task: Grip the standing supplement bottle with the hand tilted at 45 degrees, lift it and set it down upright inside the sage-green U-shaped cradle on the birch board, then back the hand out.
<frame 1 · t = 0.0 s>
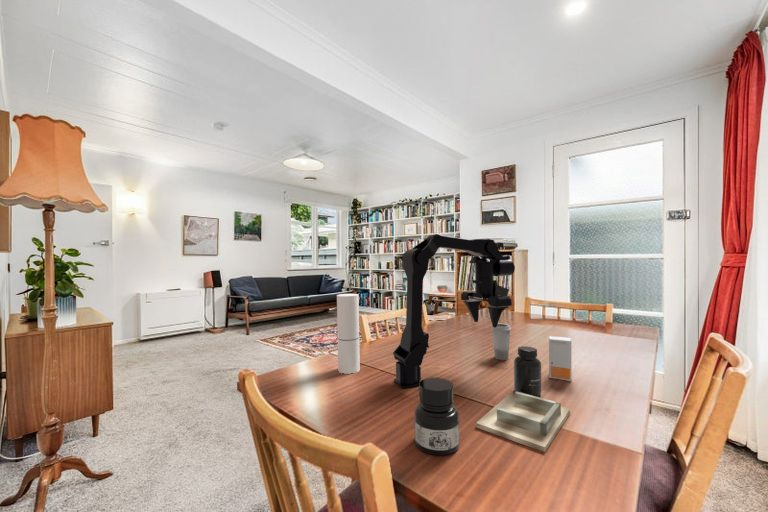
hand: (485, 324, 107), 15 cm above the table, tool pointing down, fingers open, 9 cm apart
cup: (501, 358, 118), on the table
skincare box: (560, 378, 99), on the table
cradle board: (524, 420, 74), on the table
cylindrical container: (349, 370, 108), on the table
supplement bottle: (527, 393, 89), on the table
ink bottle: (437, 444, 66), on the table
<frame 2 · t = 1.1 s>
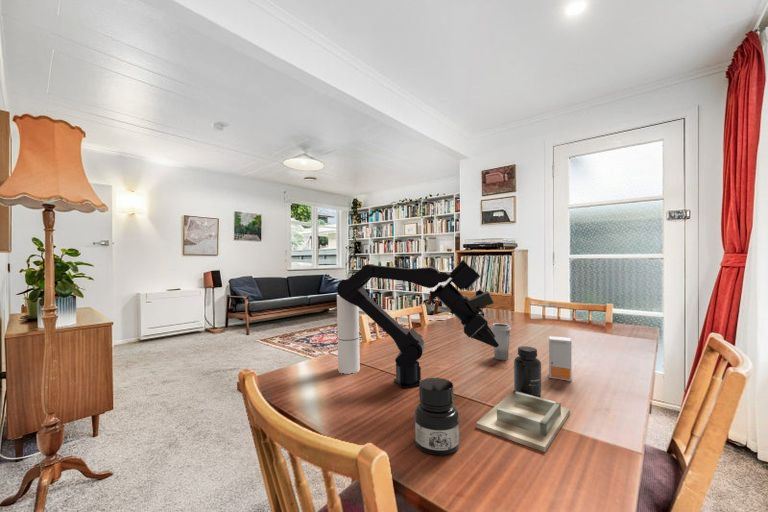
hand: (495, 341, 91), 13 cm above the table, tool tilted 45°, fingers open, 9 cm apart
nothing on the table moved.
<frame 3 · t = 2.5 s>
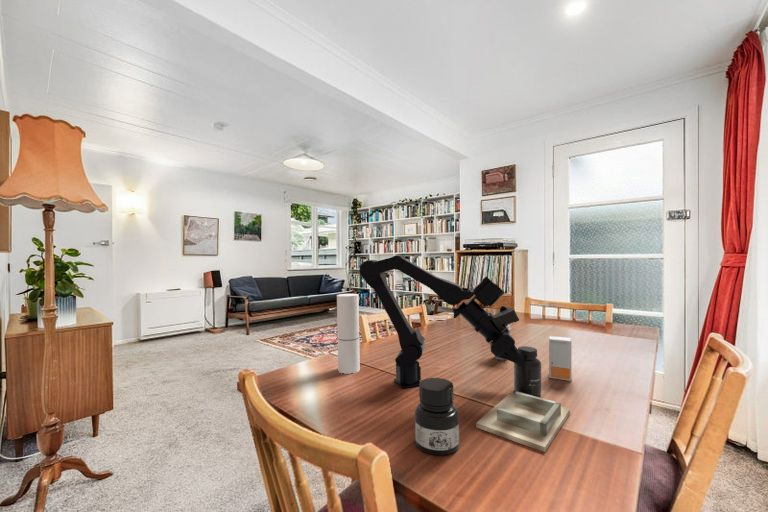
hand: (521, 359, 89), 9 cm above the table, tool tilted 45°, fingers open, 9 cm apart
nothing on the table moved.
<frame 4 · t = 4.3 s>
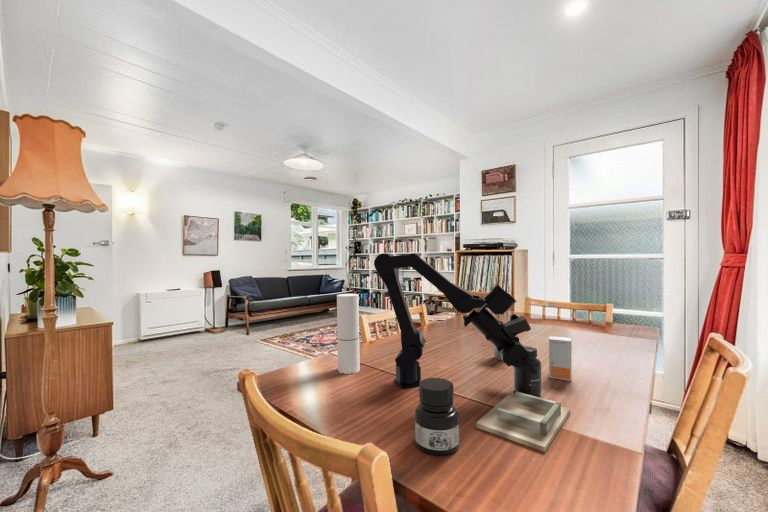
hand: (532, 368, 89), 7 cm above the table, tool tilted 45°, fingers closed on supplement bottle, 7 cm apart
supplement bottle: (527, 393, 89), on the table, touching gripper
everything else where it was.
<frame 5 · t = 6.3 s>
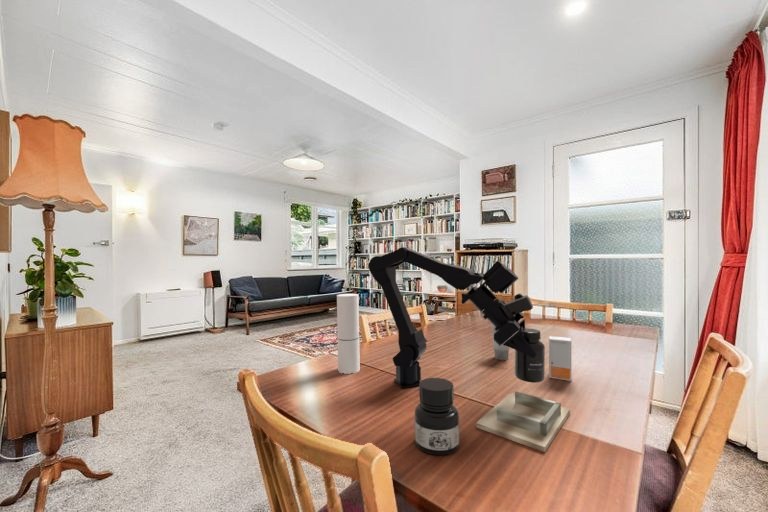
hand: (535, 352, 81), 13 cm above the table, tool tilted 45°, fingers closed on supplement bottle, 7 cm apart
supplement bottle: (529, 378, 82), point 6 cm above the table, touching gripper
everything else where it was.
when the fingers open (9 cm above the table, at t = 8.4 s): supplement bottle drops 1 cm, resting on cradle board.
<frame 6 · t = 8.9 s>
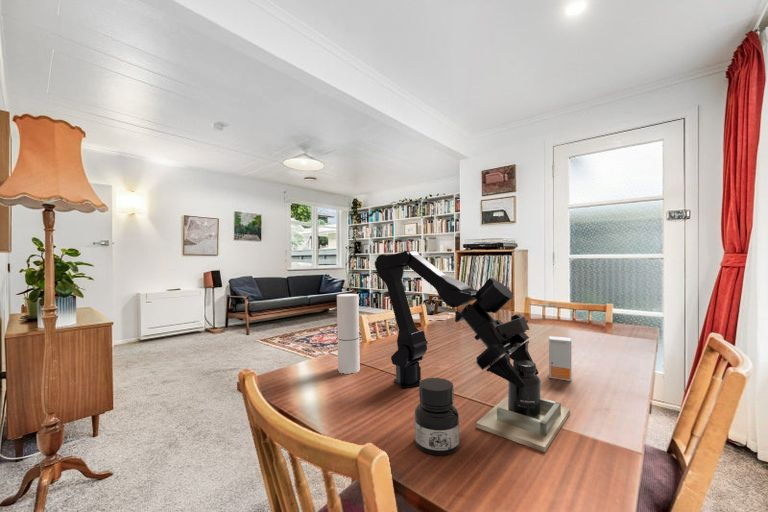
hand: (530, 380, 73), 9 cm above the table, tool tilted 45°, fingers open, 9 cm apart
supplement bottle: (524, 415, 75), point 1 cm above the table, touching cradle board
everything else where it was.
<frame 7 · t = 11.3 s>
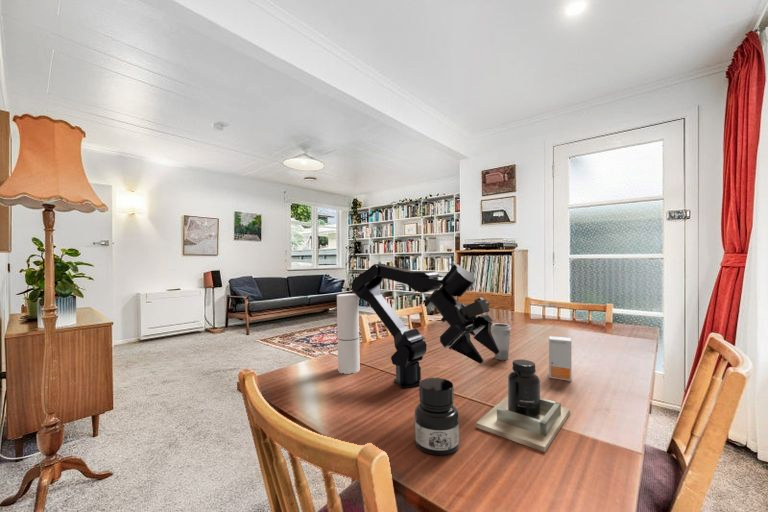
hand: (490, 357, 79), 13 cm above the table, tool tilted 45°, fingers open, 9 cm apart
nothing on the table moved.
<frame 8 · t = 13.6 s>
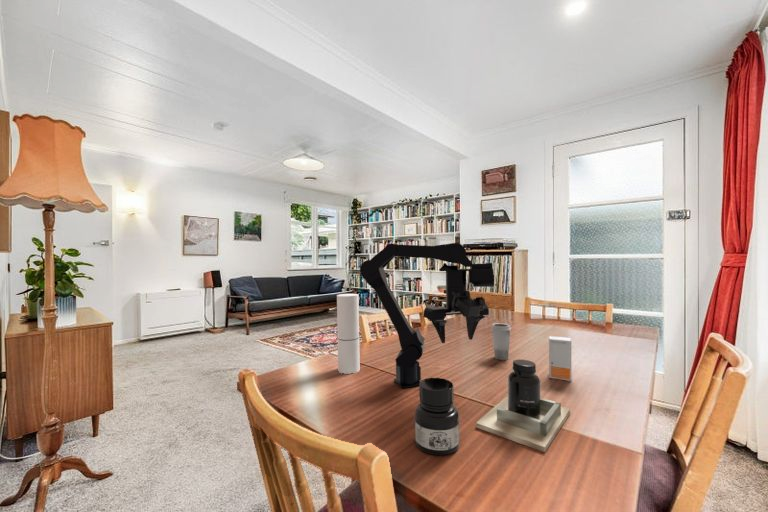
hand: (457, 341, 93), 13 cm above the table, tool pointing down, fingers open, 9 cm apart
nothing on the table moved.
at the end: supplement bottle 0.3 cm off-centre on the cradle board, point 0.8 cm above the cradle board's base; supplement bottle tilted 0°; the gripper is holding nothing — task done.
